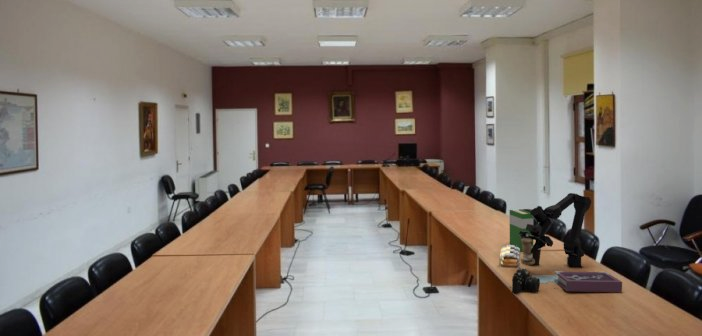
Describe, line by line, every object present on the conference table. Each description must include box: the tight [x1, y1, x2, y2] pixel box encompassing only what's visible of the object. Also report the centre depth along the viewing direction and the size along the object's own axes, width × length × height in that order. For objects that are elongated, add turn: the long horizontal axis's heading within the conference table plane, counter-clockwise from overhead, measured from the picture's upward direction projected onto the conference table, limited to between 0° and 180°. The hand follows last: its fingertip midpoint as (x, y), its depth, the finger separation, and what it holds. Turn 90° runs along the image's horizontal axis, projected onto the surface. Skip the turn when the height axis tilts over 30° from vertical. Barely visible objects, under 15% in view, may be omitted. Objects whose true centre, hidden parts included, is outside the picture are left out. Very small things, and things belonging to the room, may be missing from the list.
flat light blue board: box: [531, 274, 558, 285], centre depth 256 cm, size 14×14×1 cm
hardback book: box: [509, 209, 534, 253], centre depth 322 cm, size 18×7×24 cm, turn 7°
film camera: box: [511, 267, 541, 295], centre depth 242 cm, size 18×12×10 cm
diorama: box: [499, 244, 521, 269], centre depth 291 cm, size 25×10×13 cm, turn 161°
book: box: [554, 270, 623, 293], centre depth 243 cm, size 25×16×5 cm, turn 88°
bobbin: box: [520, 238, 535, 266], centre depth 262 cm, size 7×7×12 cm
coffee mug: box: [528, 245, 542, 267], centre depth 285 cm, size 12×9×10 cm
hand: (527, 251), depth 262 cm, fingers closed on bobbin, 4 cm apart
